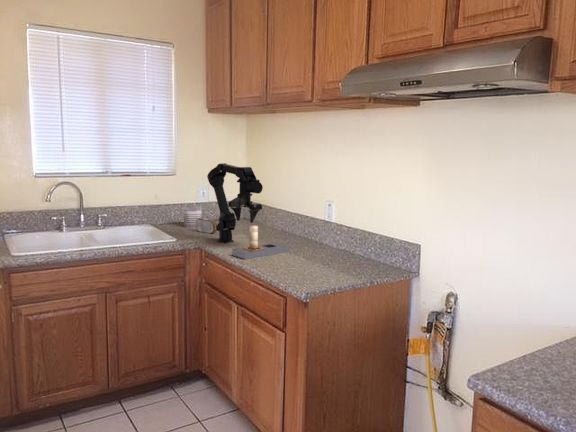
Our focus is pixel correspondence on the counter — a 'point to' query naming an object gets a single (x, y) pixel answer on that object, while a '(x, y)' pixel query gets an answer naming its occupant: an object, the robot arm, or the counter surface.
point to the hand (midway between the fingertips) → (244, 222)
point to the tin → (206, 225)
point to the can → (191, 216)
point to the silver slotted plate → (261, 250)
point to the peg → (253, 237)
